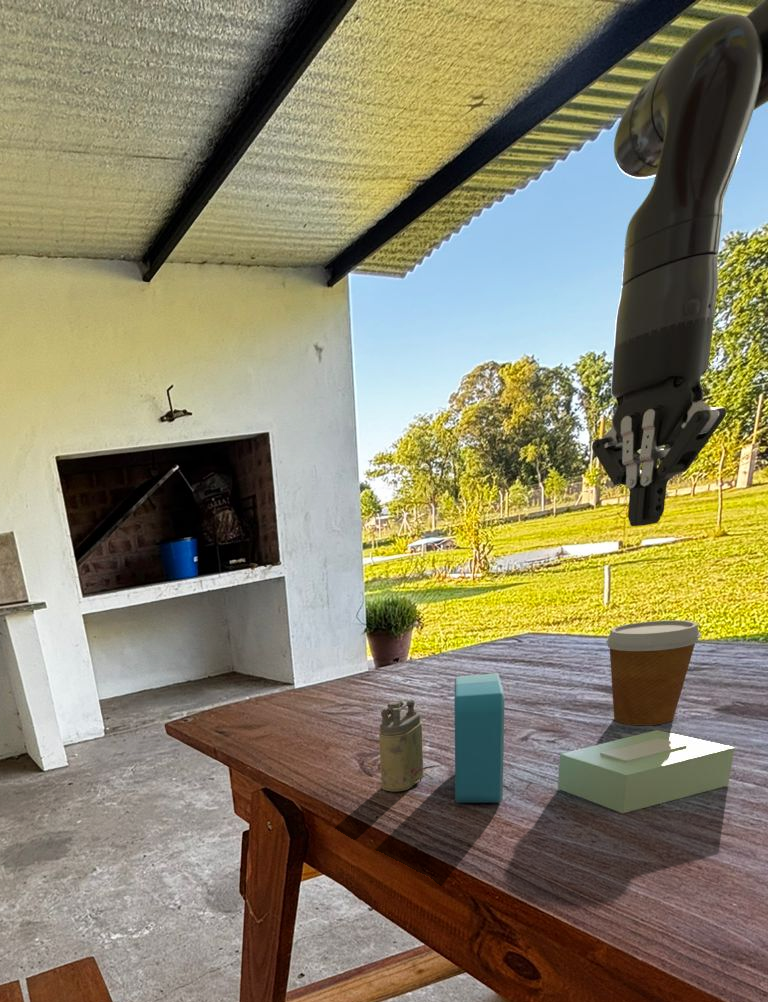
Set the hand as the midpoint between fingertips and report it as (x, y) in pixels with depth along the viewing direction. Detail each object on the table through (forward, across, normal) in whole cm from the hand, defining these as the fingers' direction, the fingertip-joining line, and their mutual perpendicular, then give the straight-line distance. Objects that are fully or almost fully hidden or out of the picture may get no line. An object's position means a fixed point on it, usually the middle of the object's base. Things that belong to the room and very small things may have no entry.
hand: (644, 524), depth 65 cm
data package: (+25, -1, +20) cm, 32 cm away
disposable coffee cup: (+25, +7, -10) cm, 28 cm away
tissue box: (+23, -6, +8) cm, 25 cm away
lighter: (+25, +5, +26) cm, 36 cm away
